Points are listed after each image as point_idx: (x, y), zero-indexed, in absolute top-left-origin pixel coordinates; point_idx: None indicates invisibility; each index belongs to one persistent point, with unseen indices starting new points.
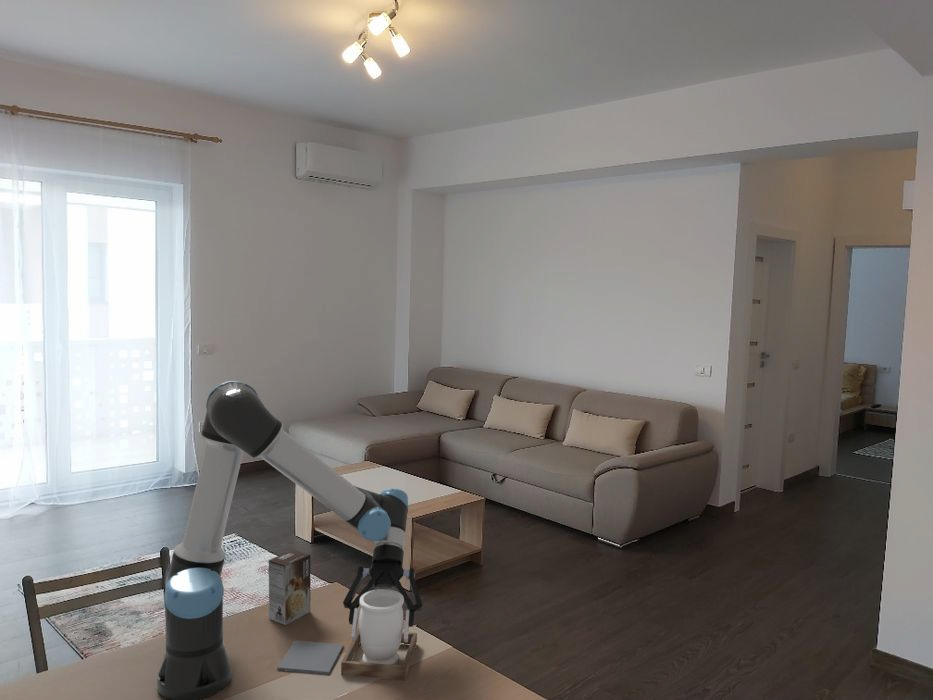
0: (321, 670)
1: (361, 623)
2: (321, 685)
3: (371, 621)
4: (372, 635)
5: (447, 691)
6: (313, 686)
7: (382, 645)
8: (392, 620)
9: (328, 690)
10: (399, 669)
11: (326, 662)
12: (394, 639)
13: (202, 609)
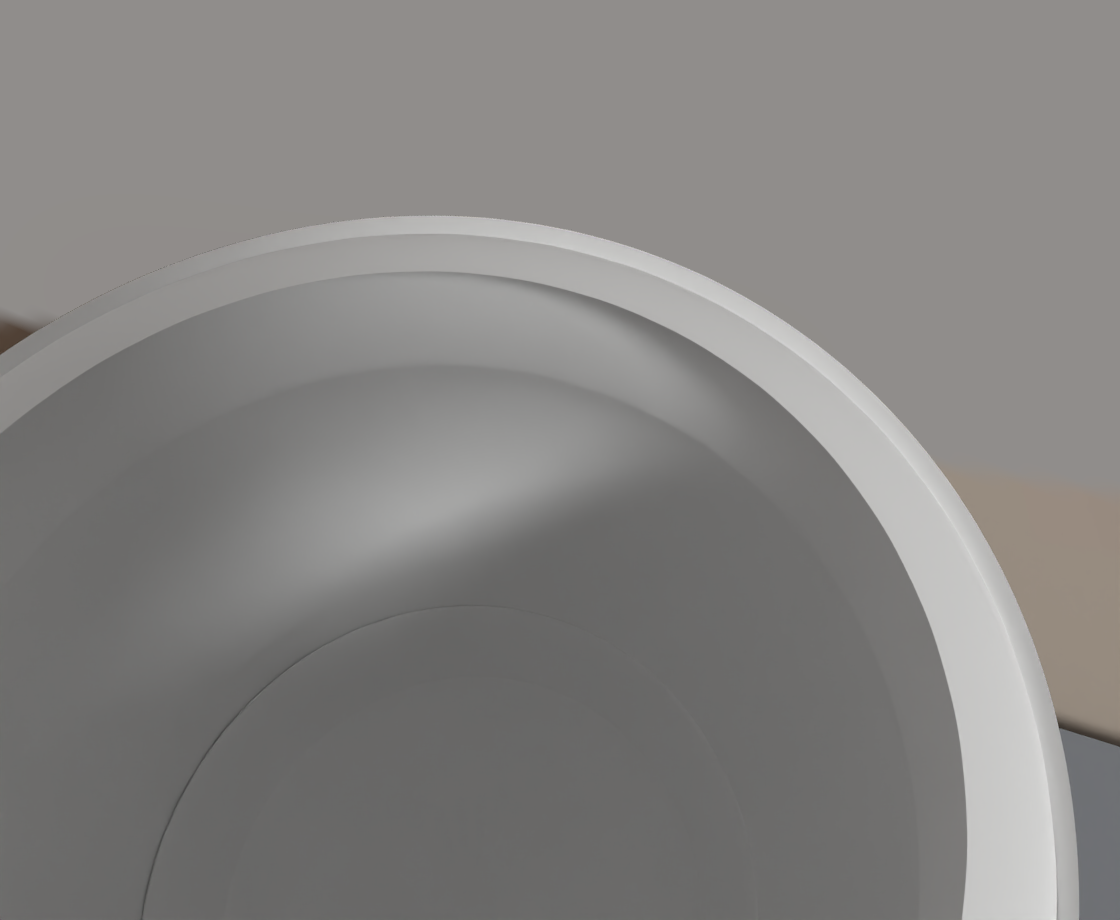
0: (1094, 754)
1: (819, 666)
2: (1030, 566)
3: (662, 460)
4: (619, 543)
5: (25, 333)
6: (1096, 563)
7: (478, 589)
8: (288, 428)
9: (956, 491)
10: None
11: (1081, 908)
12: (306, 598)
13: None
